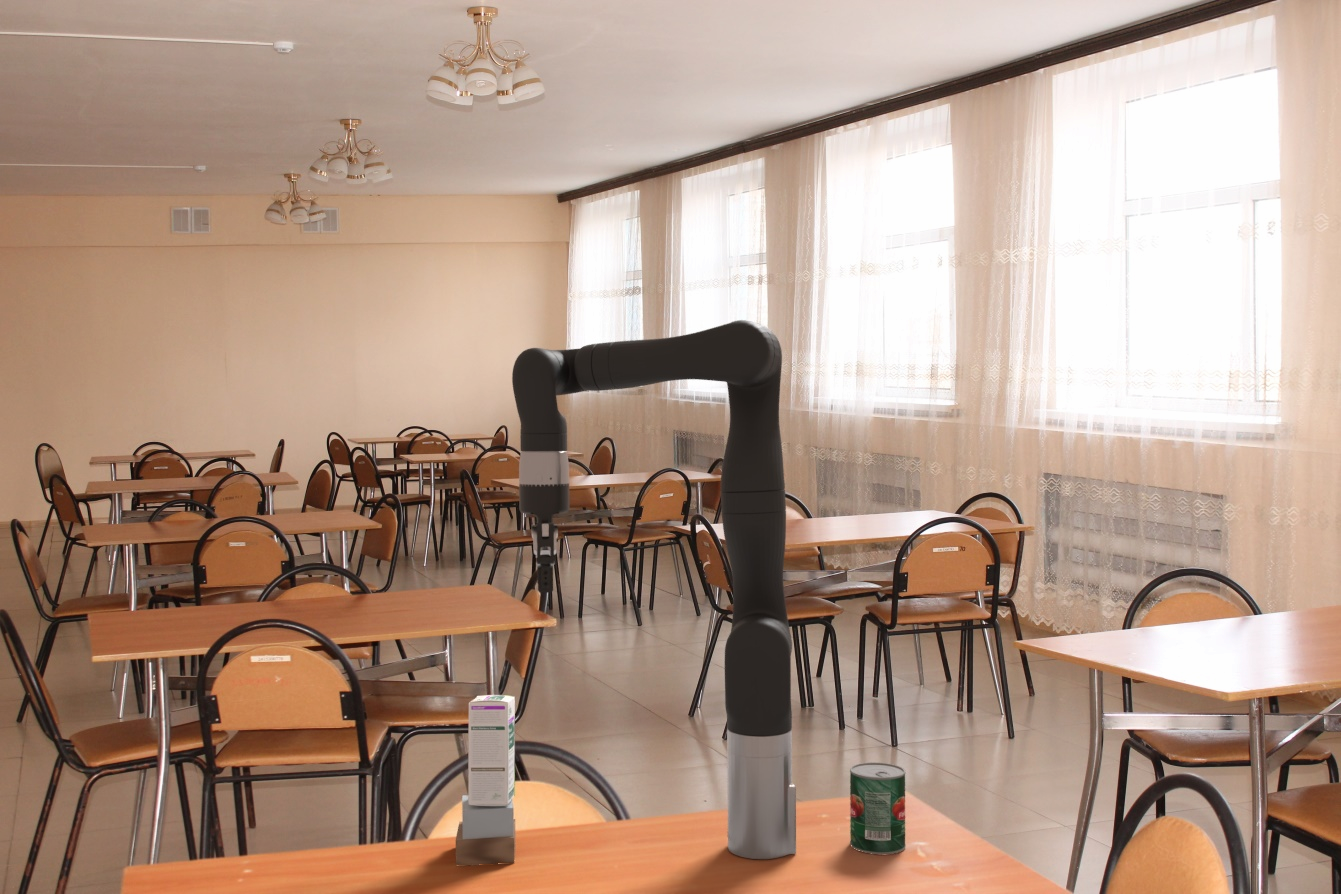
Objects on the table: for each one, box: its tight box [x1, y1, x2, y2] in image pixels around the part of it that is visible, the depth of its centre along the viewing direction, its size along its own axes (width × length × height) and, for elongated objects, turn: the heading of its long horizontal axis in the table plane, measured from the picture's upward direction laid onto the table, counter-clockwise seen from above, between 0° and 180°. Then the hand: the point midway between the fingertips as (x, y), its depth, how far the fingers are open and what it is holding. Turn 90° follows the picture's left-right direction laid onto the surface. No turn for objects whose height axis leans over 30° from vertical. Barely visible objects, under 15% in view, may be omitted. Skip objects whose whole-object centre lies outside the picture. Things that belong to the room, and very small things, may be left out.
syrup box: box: [467, 694, 516, 806], centre depth 168 cm, size 6×6×14 cm
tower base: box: [455, 818, 516, 866], centre depth 169 cm, size 8×8×4 cm
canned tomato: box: [849, 762, 906, 856], centre depth 171 cm, size 8×8×11 cm
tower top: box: [461, 794, 515, 840], centre depth 168 cm, size 7×7×4 cm
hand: (545, 588), depth 180 cm, fingers open, 8 cm apart
